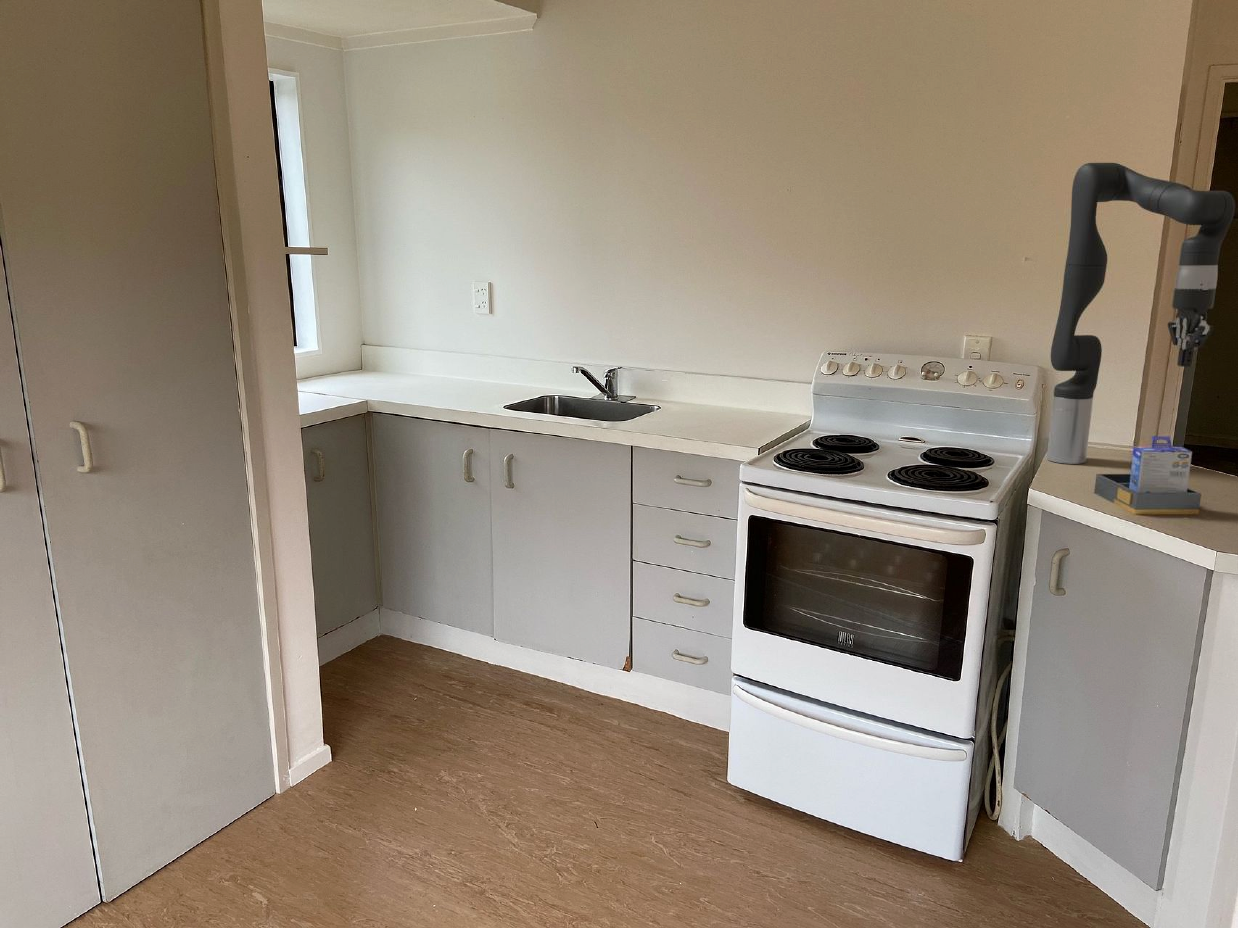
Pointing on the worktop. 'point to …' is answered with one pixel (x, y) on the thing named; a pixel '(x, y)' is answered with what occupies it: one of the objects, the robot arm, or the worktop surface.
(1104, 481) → the tray
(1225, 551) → the worktop surface
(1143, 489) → the ink cartridge box
